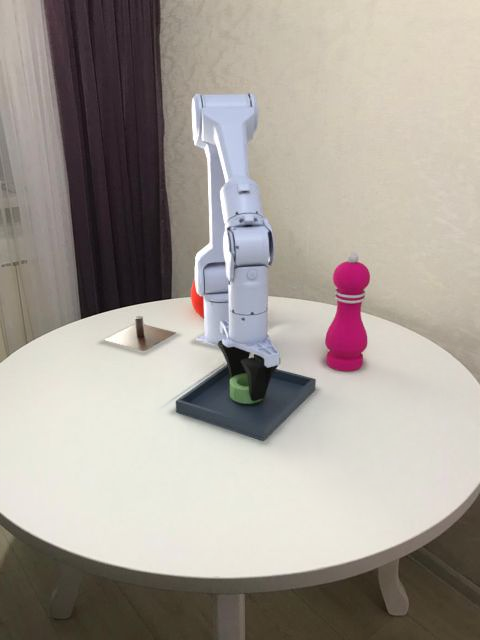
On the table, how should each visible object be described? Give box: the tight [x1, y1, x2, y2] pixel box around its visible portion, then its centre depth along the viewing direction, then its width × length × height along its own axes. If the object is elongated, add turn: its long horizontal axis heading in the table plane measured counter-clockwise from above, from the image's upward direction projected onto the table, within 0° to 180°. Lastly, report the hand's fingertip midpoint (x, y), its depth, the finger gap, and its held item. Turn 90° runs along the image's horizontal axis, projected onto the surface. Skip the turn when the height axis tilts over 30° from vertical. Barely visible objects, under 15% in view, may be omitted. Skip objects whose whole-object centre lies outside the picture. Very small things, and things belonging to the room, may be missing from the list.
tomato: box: [190, 279, 204, 318], centre depth 123 cm, size 11×11×9 cm
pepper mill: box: [324, 252, 371, 372], centre depth 100 cm, size 7×7×20 cm
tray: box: [175, 363, 317, 442], centre depth 92 cm, size 17×15×2 cm
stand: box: [103, 315, 177, 352], centre depth 113 cm, size 10×10×4 cm
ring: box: [230, 373, 262, 404], centre depth 91 cm, size 5×5×2 cm
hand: (247, 390), depth 91 cm, fingers closed on ring, 5 cm apart
